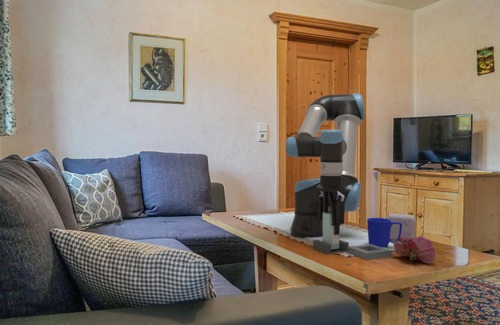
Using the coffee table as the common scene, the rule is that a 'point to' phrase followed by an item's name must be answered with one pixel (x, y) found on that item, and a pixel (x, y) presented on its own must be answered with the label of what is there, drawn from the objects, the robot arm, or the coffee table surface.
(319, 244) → the holster
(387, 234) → the mug
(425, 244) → the flower
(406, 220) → the electronic device
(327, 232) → the plug
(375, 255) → the port
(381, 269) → the coffee table surface
